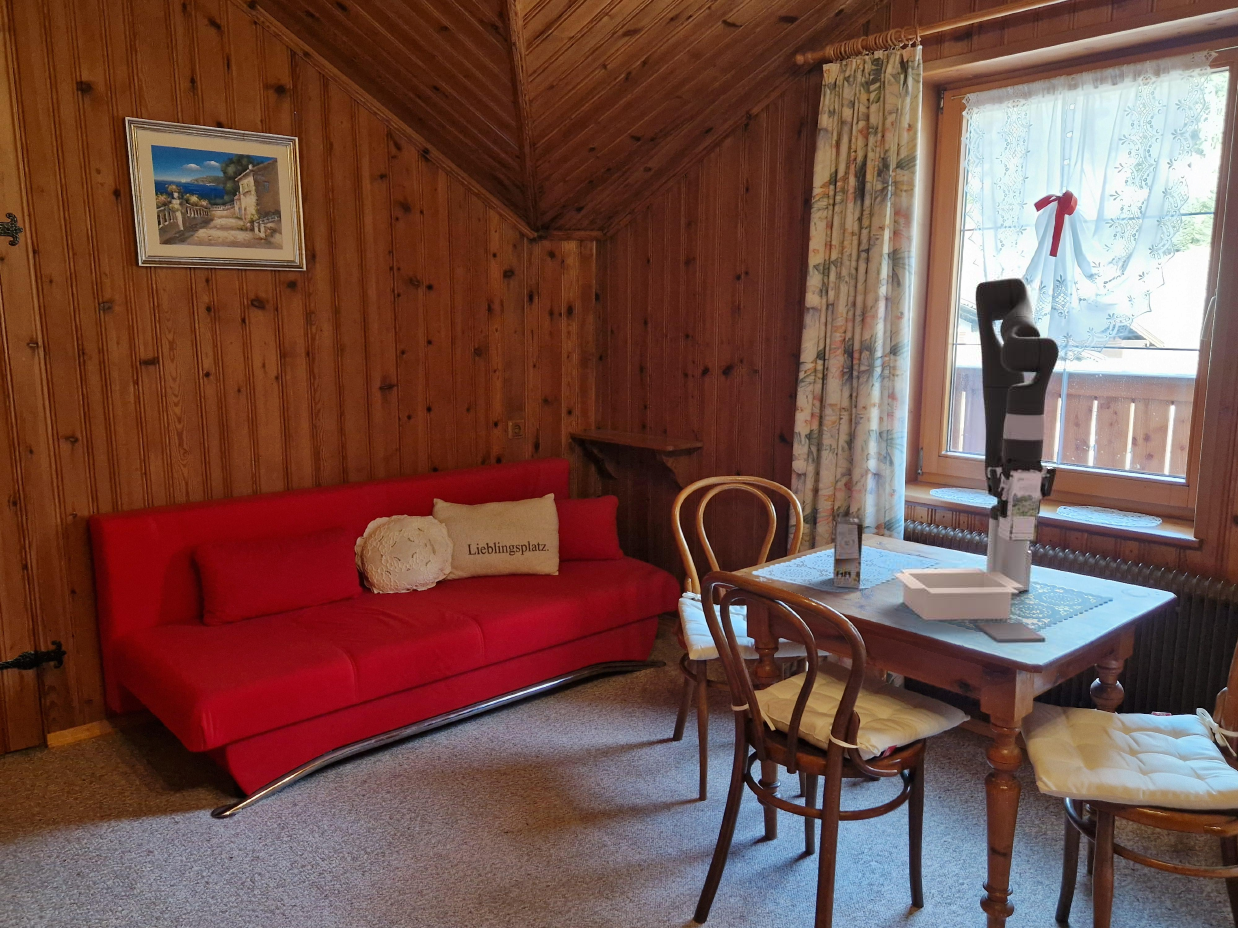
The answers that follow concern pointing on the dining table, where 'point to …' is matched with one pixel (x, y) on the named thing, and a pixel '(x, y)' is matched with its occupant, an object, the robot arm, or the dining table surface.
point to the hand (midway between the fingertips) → (1017, 516)
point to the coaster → (1010, 632)
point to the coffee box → (847, 551)
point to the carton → (957, 593)
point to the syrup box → (1021, 507)
